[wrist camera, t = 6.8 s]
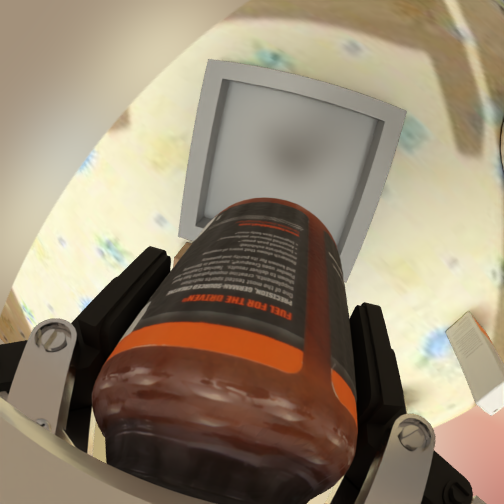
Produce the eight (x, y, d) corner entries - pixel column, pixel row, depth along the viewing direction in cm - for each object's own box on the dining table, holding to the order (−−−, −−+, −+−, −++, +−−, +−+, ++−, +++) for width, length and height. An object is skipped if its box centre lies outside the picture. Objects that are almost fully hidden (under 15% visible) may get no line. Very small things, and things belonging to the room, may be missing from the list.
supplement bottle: (177, 227, 13) (-13, 451, 3) (305, 168, 11) (245, 587, 1) (241, 329, 15) (165, 553, 5) (357, 294, 13) (375, 574, 3)
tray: (395, 110, 22) (406, 111, 19) (343, 266, 29) (346, 282, 27) (218, 64, 22) (208, 58, 20) (189, 224, 30) (178, 236, 27)
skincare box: (485, 329, 30) (519, 395, 19) (463, 349, 32) (490, 417, 21) (468, 308, 29) (507, 379, 18) (443, 331, 31) (474, 405, 20)
